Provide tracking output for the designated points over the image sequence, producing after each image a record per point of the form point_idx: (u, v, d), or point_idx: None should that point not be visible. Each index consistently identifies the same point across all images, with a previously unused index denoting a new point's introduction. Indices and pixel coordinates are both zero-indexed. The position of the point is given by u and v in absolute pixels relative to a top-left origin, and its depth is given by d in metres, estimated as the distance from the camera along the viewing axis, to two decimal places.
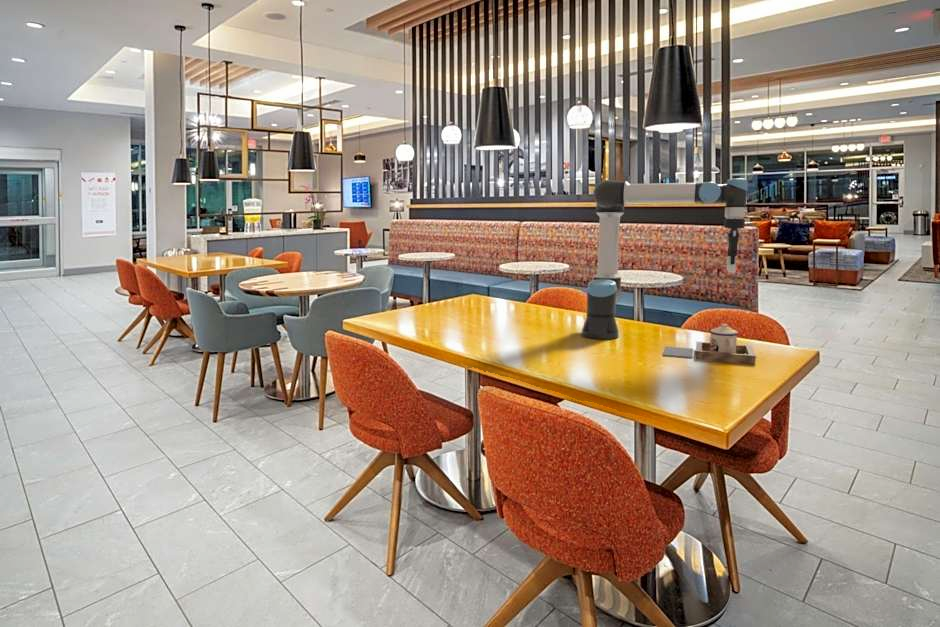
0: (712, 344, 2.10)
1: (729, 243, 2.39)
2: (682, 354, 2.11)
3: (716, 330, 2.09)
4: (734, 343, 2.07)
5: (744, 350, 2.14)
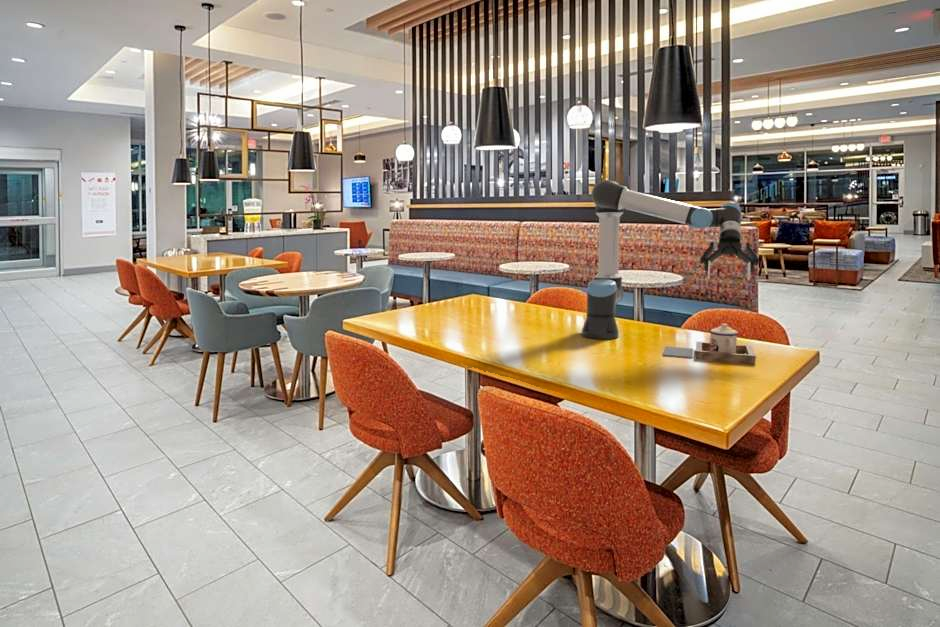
0: (712, 344, 2.10)
1: (739, 256, 2.21)
2: (682, 354, 2.11)
3: (716, 330, 2.09)
4: (734, 343, 2.07)
5: (744, 350, 2.14)
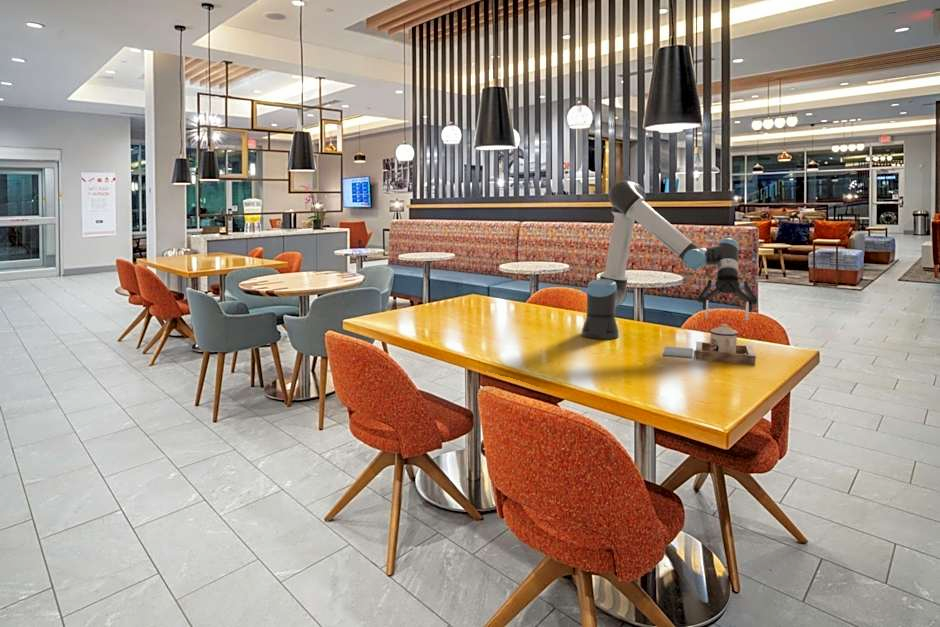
0: (712, 344, 2.10)
1: (737, 295, 2.19)
2: (682, 354, 2.11)
3: (716, 330, 2.09)
4: (734, 343, 2.07)
5: (744, 350, 2.14)
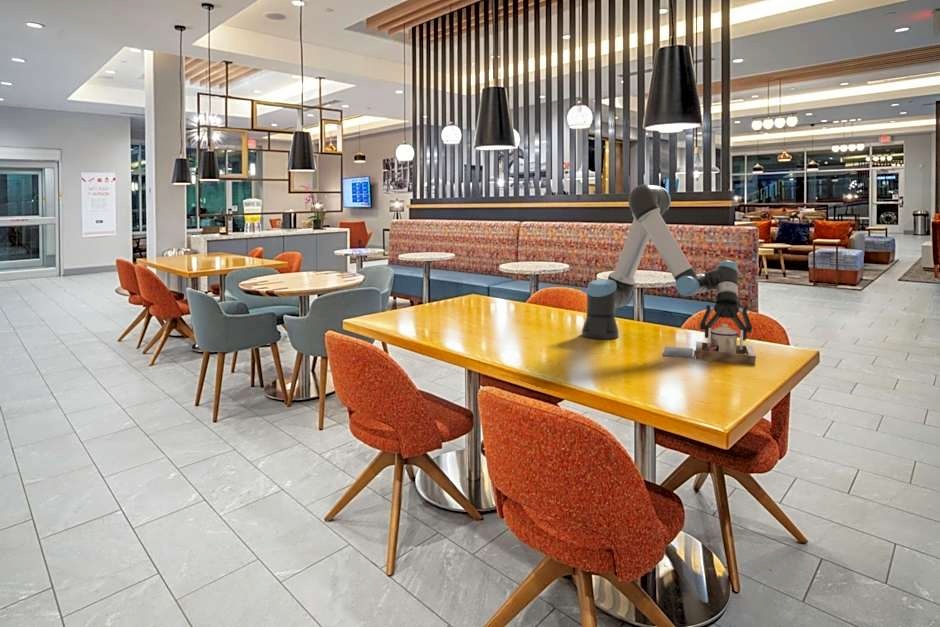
0: (712, 344, 2.10)
1: (734, 321, 2.13)
2: (682, 354, 2.11)
3: (716, 330, 2.09)
4: (734, 343, 2.07)
5: (744, 350, 2.14)
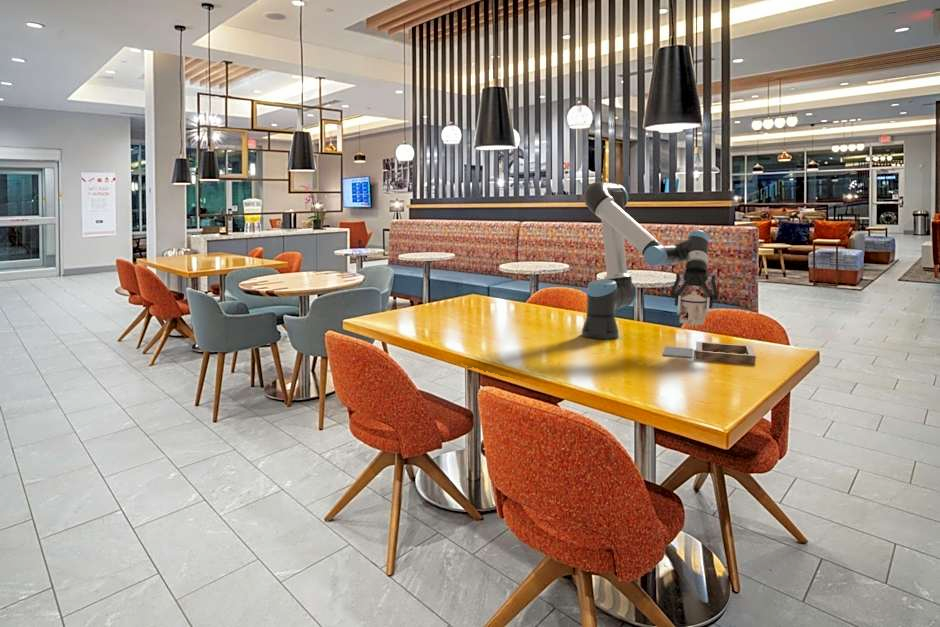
0: (682, 311, 2.12)
1: (702, 289, 2.16)
2: (682, 354, 2.11)
3: (686, 297, 2.11)
4: (703, 310, 2.10)
5: (744, 350, 2.14)
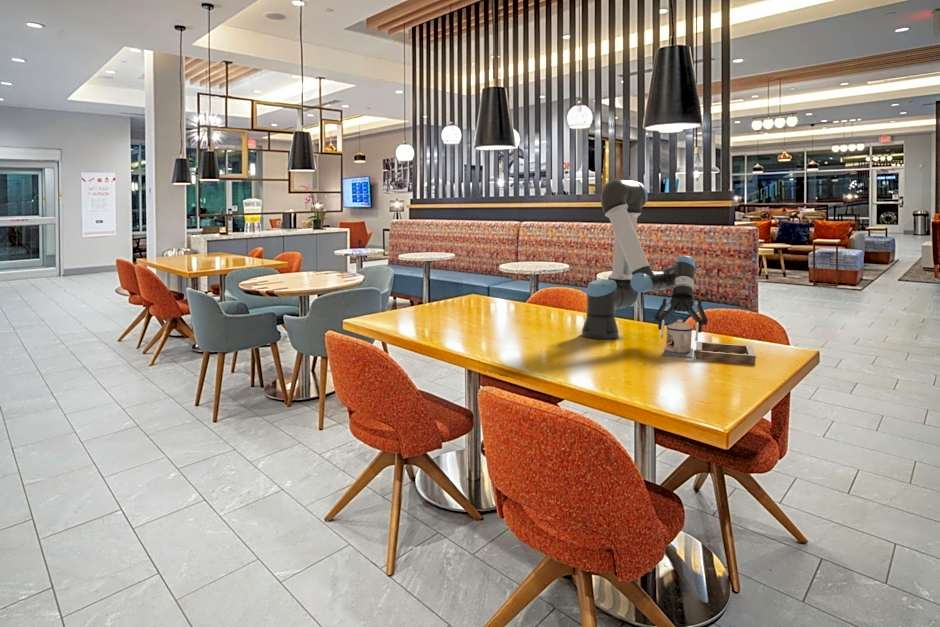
0: (668, 339, 2.16)
1: (690, 314, 2.18)
2: (682, 354, 2.11)
3: (672, 326, 2.15)
4: (689, 338, 2.13)
5: (744, 350, 2.14)
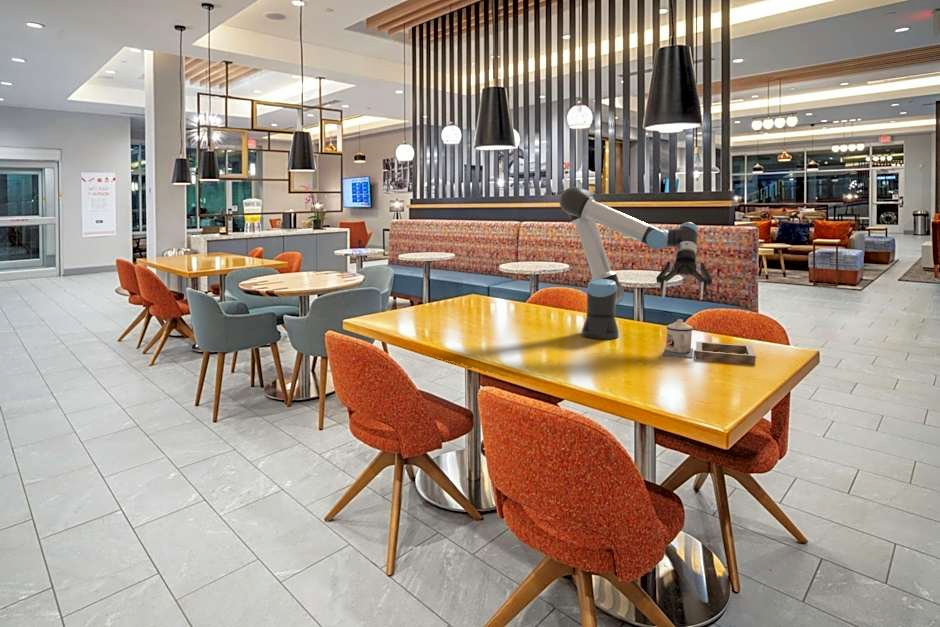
0: (668, 339, 2.16)
1: (694, 276, 2.28)
2: (682, 354, 2.11)
3: (672, 326, 2.15)
4: (689, 338, 2.13)
5: (744, 350, 2.14)
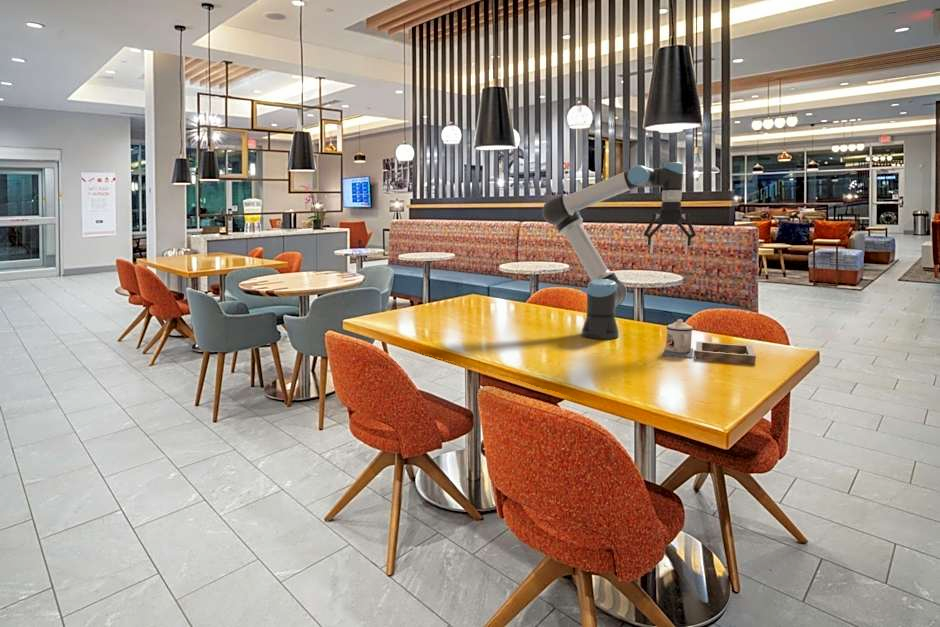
0: (668, 339, 2.16)
1: None
2: (682, 354, 2.11)
3: (672, 326, 2.15)
4: (689, 338, 2.13)
5: (744, 350, 2.14)
